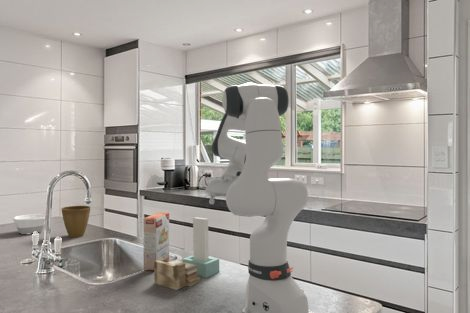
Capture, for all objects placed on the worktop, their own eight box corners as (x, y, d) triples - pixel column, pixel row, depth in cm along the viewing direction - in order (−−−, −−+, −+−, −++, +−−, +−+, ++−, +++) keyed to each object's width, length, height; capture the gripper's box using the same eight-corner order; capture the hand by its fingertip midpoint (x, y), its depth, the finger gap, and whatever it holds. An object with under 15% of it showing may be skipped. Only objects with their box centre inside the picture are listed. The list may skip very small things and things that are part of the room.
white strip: (208, 269, 144) (208, 218, 143) (205, 271, 142) (204, 219, 141) (197, 266, 147) (196, 217, 147) (193, 268, 145) (193, 217, 145)
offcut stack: (199, 282, 133) (199, 265, 133) (189, 286, 129) (189, 269, 129) (171, 274, 141) (171, 259, 141) (162, 278, 137) (161, 262, 137)
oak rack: (185, 285, 130) (185, 263, 129) (176, 290, 126) (176, 266, 126) (163, 279, 136) (163, 258, 136) (154, 283, 132) (154, 261, 132)
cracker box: (157, 271, 145) (156, 218, 145) (143, 270, 147) (142, 218, 146) (170, 260, 159) (169, 212, 159) (157, 259, 160) (156, 211, 160)
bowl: (46, 227, 228) (45, 212, 228) (50, 233, 214) (50, 216, 213) (12, 231, 218) (12, 215, 218) (14, 237, 204) (14, 220, 203)
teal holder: (219, 271, 144) (219, 258, 144) (206, 277, 138) (205, 264, 138) (196, 266, 151) (196, 253, 151) (182, 271, 145) (182, 258, 145)
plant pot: (66, 240, 195) (65, 210, 195) (58, 235, 207) (58, 207, 206) (94, 236, 205) (94, 207, 204) (86, 231, 216) (85, 204, 216)
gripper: (210, 172, 164) (197, 198, 157) (248, 173, 153) (236, 200, 145) (217, 181, 168) (204, 206, 161) (254, 182, 156) (243, 209, 149)
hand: (219, 203), depth 153 cm, fingers open, 8 cm apart
